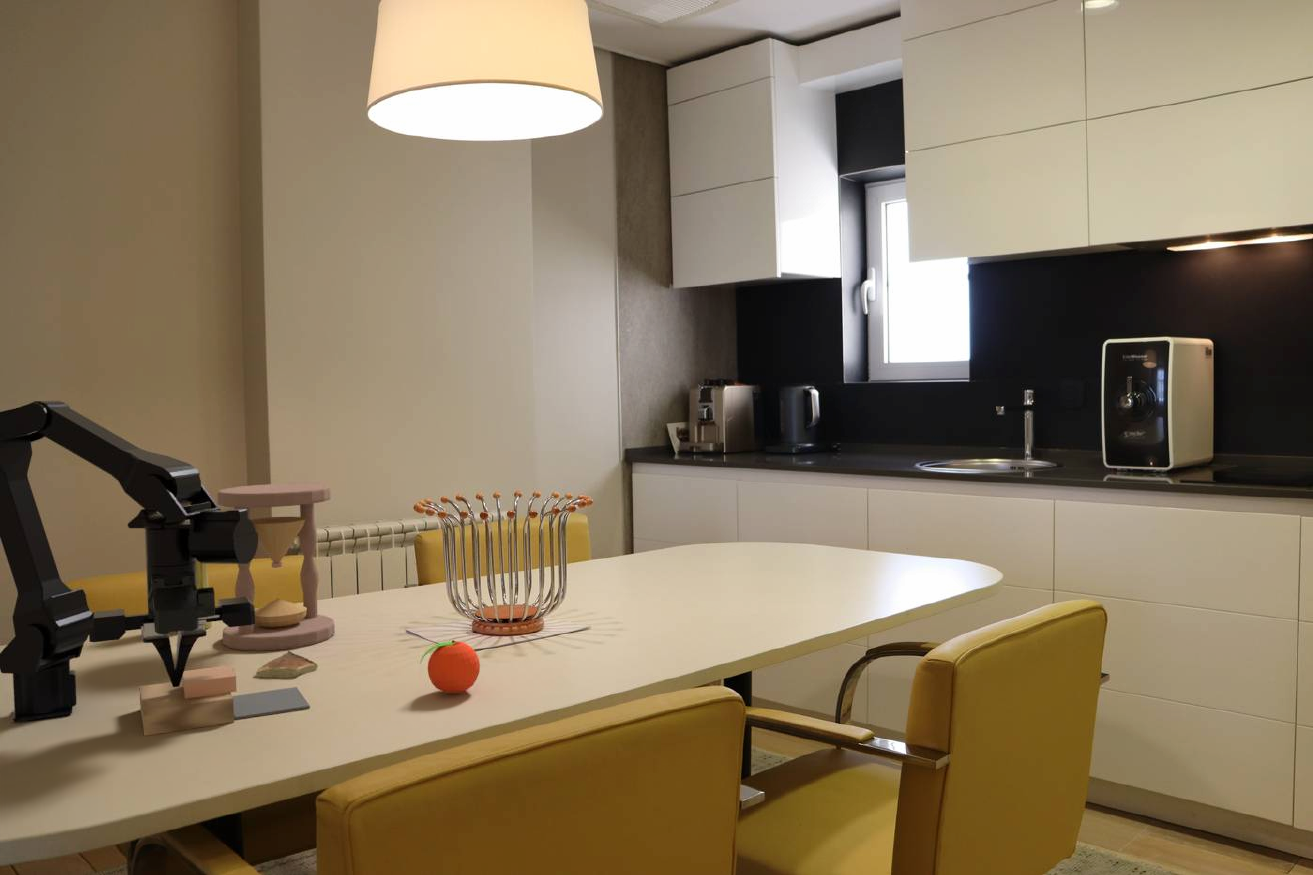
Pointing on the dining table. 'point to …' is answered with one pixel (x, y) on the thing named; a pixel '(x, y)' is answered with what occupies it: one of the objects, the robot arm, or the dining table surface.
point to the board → (181, 709)
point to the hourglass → (280, 618)
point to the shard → (287, 666)
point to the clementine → (453, 667)
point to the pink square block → (209, 681)
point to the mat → (268, 703)
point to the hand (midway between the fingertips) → (176, 686)
